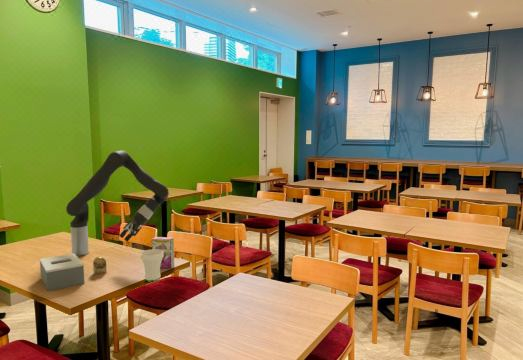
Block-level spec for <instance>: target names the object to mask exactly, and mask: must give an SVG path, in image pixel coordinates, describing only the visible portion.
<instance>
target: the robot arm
mask: <svg viewBox="0 0 523 360" xmlns="http://www.w3.org/2000/svg"><path fill="white" fill-rule="evenodd" d="M122 167H124V168H126V169H127V170H129V172H130V173H132V175H133V176H134V178H135V179H136V181H137V182H138V183H139V184H140V185H142V186H143V188H146V189H147V190H148V191H151V192H152V193H153V194H154V195H152V197H151V198H149V199H147V201H145V203H144V204H143V205H142V206H141V207H140V208H139V209H138V210H137V211H136V212H135V214H134V215H133V216H132V220H129V221H128V222H127V223H126V224H125V225H124V226H123V228H122V231H121V233H120V234H119V237H120V238H121V239H123V238H124V239H123V240H125V242H129V241H130V240H131V238H132V237H136V236H137V234H138V233H139V232H140V231H141V229H142V228H143V226H145V224H146V223H147V222H148V221H149V220H150V218H151V217H152V216H153V214H154V213H155V212H156V210H157V209H158V208H159V207H160V206H161V205H162V204H163V203H164V202H165V201H166V200H167V199H168V197H169V194H170V193H169V192H170V191H169V189H168V187H166V185H164V184H163V183H162V182H160V181H158V180H156V179H155V178H154V177H153V176H152V175H150V174H149V173H148V172H147V171H145V170H144V169H143V168H142V167H141V166H140V165H139V164H138V163H137V161H135V160H134V159H133V158H132V156H131V155H130V154H129V153H128V152H127V151H125V150H115V151H112V152H111V153H109V154H108V156H107V158H106V160H105V161H104V162H103V164H102V165H101V166H100V167H99V169H98V170H97V171H96V172H95V173H94V174H93V176H91V178H90V179H88V181H87V183H86V184H85V185H84V186H83V187H82V189H81V190H80V191H78V193H77V194H76V195H75V196H74V197H73V198H72V199H71V200H70V201H69V202H68V203H67V204H66V214H68V215H69V216H71V217H74V218H73V219H72V220H71V221H70V236H71V237H70V239H71V254H73V253H75V255H76V256H77V257H78V256H85V255H87V254H89V252H90V251H89V250H90V249H89V247H90V246H89V230H88V229H89V227H88V222H89V217H90V214H89V213H90V210H89V203H88V202H89V201H91V200H92V199H94V198H95V197H97V196H98V195H99V194H100V193H101V192H102V191H103V190H105V188H106V186H107V185H108V183H109V182H110V181H109V180H110V178H111V177H112V175H113V174H114V173H115V172H116V170H118V169H119V168H122ZM128 232H129V233H128ZM127 233H128V234H127Z"/></svg>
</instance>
